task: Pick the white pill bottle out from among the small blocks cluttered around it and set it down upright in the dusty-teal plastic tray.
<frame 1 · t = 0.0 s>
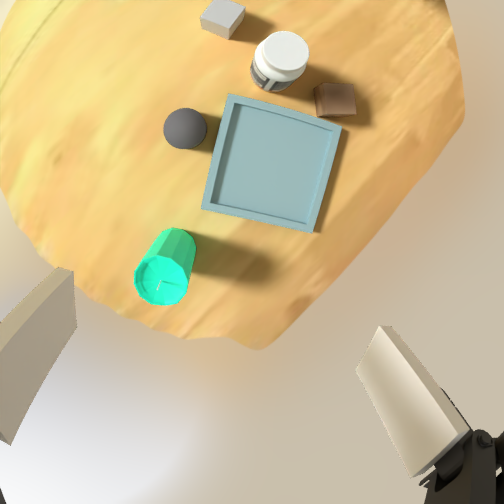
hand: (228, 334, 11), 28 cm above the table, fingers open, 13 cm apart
walnut block: (329, 102, 33), on the table
candle: (175, 248, 39), on the table
dark grey stone: (187, 129, 33), on the table
grey block: (222, 23, 28), on the table
tray: (271, 163, 36), on the table
pill bottle: (270, 73, 32), on the table
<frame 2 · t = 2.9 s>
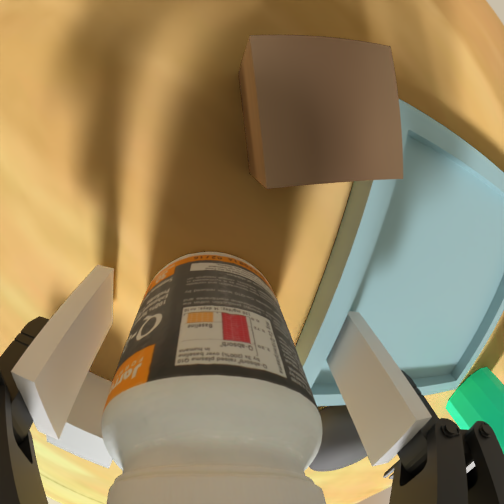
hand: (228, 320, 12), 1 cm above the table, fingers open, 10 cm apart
walnut block: (295, 118, 10), on the table
candle: (467, 388, 20), on the table
dark grey stone: (333, 422, 17), on the table
grey block: (95, 393, 14), on the table
tray: (437, 286, 14), on the table
pill bottle: (210, 306, 13), on the table
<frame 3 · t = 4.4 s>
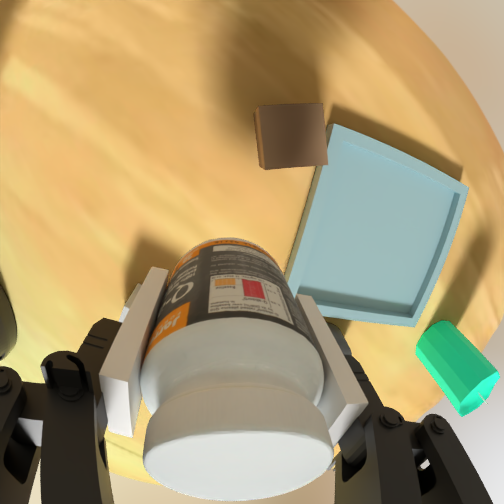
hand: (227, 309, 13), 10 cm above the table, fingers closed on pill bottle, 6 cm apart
walnut block: (283, 137, 20), on the table
candle: (433, 339, 29), on the table
dark grey stone: (317, 342, 27), on the table
tray: (380, 238, 23), on the table
pill bottle: (227, 286, 15), point 8 cm above the table, touching gripper
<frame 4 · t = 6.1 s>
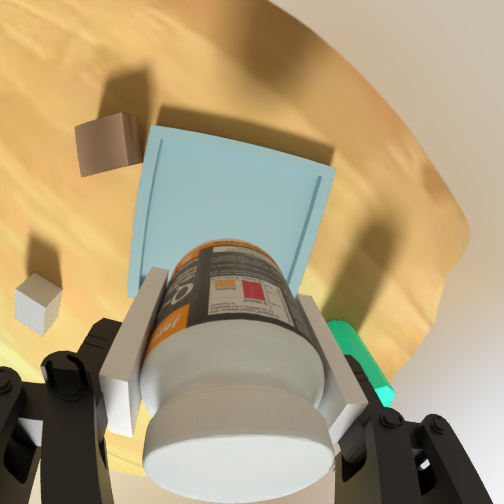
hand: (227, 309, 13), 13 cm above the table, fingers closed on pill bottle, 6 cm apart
walnut block: (118, 144, 21), on the table
candle: (329, 340, 30), on the table
grey block: (46, 294, 25), on the table
tray: (224, 229, 24), on the table
pill bottle: (227, 287, 15), point 11 cm above the table, touching gripper
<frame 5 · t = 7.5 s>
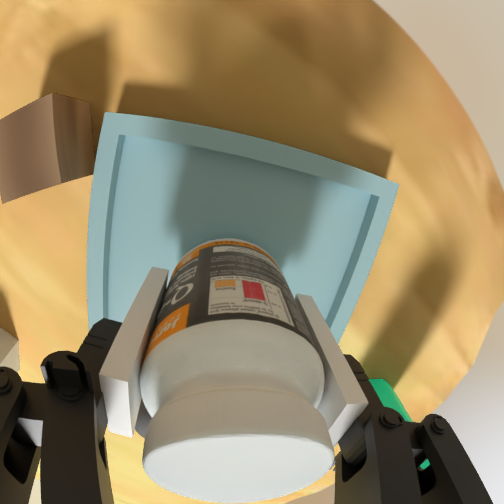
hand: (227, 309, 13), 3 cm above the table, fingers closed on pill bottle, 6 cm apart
walnut block: (64, 146, 12), on the table
candle: (360, 400, 22), on the table
dark grey stone: (171, 400, 19), on the table
grey block: (3, 343, 16), on the table
tray: (225, 276, 16), on the table
pill bottle: (227, 287, 15), point 1 cm above the table, touching gripper
when the fingers open (2 cm above the table, at t = 8.1 s): pill bottle stays where it is, resting on tray.
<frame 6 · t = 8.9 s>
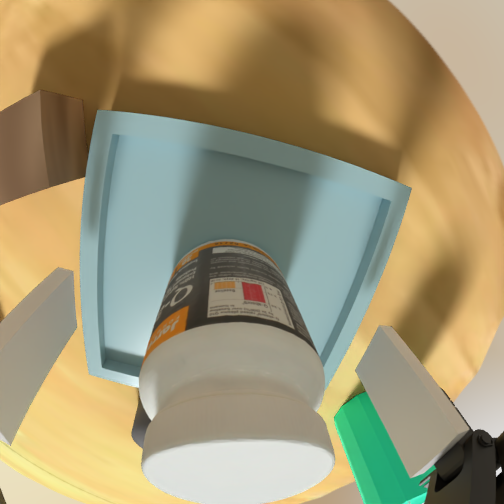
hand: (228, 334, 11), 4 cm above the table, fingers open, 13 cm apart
walnut block: (56, 147, 11), on the table
candle: (365, 408, 21), on the table
dark grey stone: (171, 410, 18), on the table
tray: (226, 285, 15), on the table
pill bottle: (227, 288, 14), resting on tray
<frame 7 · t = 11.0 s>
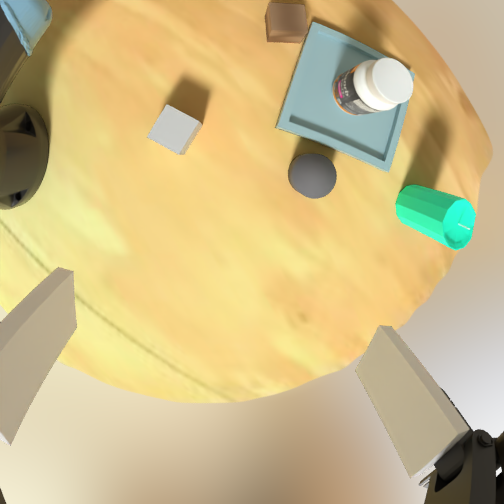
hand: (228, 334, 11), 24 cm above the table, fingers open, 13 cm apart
walnut block: (282, 29, 26), on the table
candle: (411, 204, 35), on the table
dark grey stone: (308, 174, 33), on the table
grey block: (179, 131, 30), on the table
tray: (350, 95, 30), on the table
pill bottle: (351, 94, 29), resting on tray
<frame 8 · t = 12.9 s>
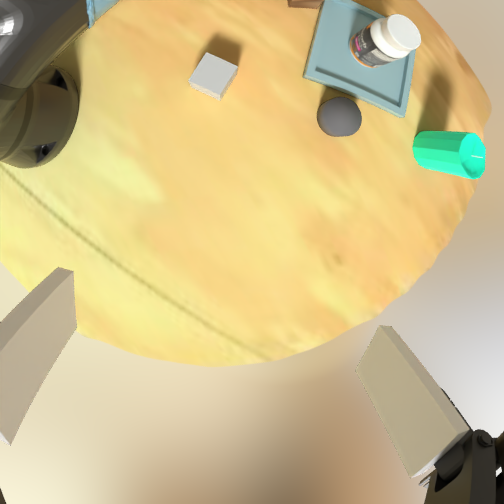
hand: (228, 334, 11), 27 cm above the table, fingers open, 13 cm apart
candle: (426, 149, 35), on the table
dark grey stone: (334, 118, 33), on the table
grey block: (214, 81, 30), on the table
tray: (364, 52, 30), on the table
pill bottle: (365, 51, 29), resting on tray
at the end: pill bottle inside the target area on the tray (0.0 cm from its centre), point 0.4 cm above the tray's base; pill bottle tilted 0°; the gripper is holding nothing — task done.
